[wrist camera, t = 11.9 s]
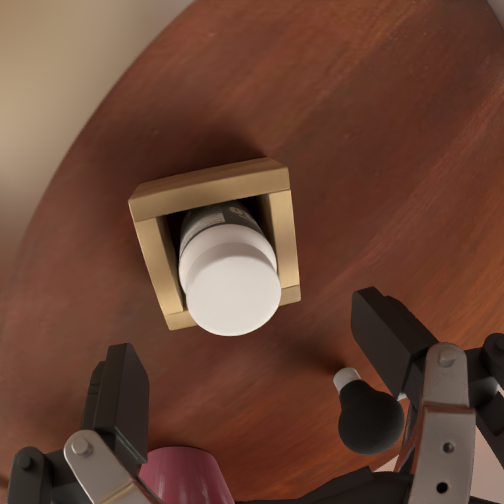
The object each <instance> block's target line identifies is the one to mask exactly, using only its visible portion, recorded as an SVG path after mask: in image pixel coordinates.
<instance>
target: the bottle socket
mask: <svg viewBox="0 0 504 504" xmlns="http://www.w3.org/2000/svg"><path fill="white" fill-rule="evenodd" d="M255 195H256V202H257V208H258V215H259V222H260V229H261V231H262V232H263V234H264V236H265V237H266V239H267V240H268V242H269V244H270V245H271V247H272V249H273V252H274V255H275V258H276V264H277V271H276V274H277V276H278V278H279V281H280V285H281V298H280V302H279V305H278V306H281V305H285V304H289V303H293V302H297V301H300V300H301V296H300V285H299V271H298V259H297V248H296V238H295V228H294V218H293V208H292V199H291V190H290V182H289V174H288V168H287V167H286V166H284V165H282V164H280V163H279V162H277V161H275V160H273V159H271V158H269V157H266V158H260V159H254V160H248V161H242V162H237V163H232V164H226V165H221V166H216V167H211V168H206V169H201V170H197V171H192V172H187V173H183V174H178V175H174V176H170V177H165V178H161V179H157V180H153V181H149V182H145V183H141V184H139V185H138V187H137V188H136V190H135V191H134V193H133V194H132V196H131V197H130V198H129V200H128V203H129V207H130V211H131V214H132V218H133V221H134V226H135V229H136V233H137V236H138V239H139V243H140V246H141V249H142V252H143V256H144V259H145V262H146V265H147V268H148V271H149V274H150V277H151V280H152V283H153V286H154V289H155V292H156V295H157V298H158V300H159V303H160V306H161V309H162V312H163V314H164V317H165V319H166V322H167V325H168V327H169V330H175V329H180V328H185V327H190V326H195V325H198V324H197V323H196V322H195V320H194V319H193V318H192V316H191V314H190V312H189V310H188V307H187V301H186V294H185V292H184V290H183V288H182V285H181V282H180V277H179V263H178V260H177V256H176V252H175V249H174V245H173V241H172V237H171V234H170V230H169V226H168V222H167V218H166V214H170V213H174V212H179V211H183V210H188V209H192V208H197V207H201V206H206V205H211V204H215V203H220V202H225V201H230V200H235V199H240V198H245V197H250V196H255Z"/></svg>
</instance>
